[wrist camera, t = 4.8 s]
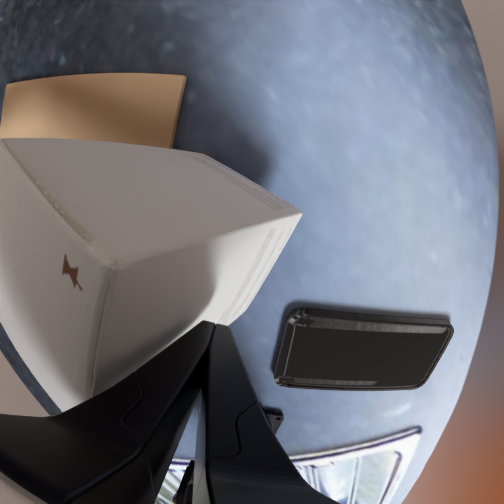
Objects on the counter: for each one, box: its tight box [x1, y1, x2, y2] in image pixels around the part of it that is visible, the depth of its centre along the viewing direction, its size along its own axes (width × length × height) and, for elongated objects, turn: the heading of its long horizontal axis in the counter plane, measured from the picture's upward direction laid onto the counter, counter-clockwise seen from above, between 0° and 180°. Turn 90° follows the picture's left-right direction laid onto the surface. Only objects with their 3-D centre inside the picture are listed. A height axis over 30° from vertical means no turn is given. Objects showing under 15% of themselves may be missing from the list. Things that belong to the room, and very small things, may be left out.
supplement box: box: [0, 138, 303, 412], centre depth 12 cm, size 7×7×13 cm
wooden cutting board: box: [0, 73, 187, 149], centre depth 18 cm, size 18×17×1 cm
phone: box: [274, 308, 454, 391], centre depth 22 cm, size 8×1×15 cm
